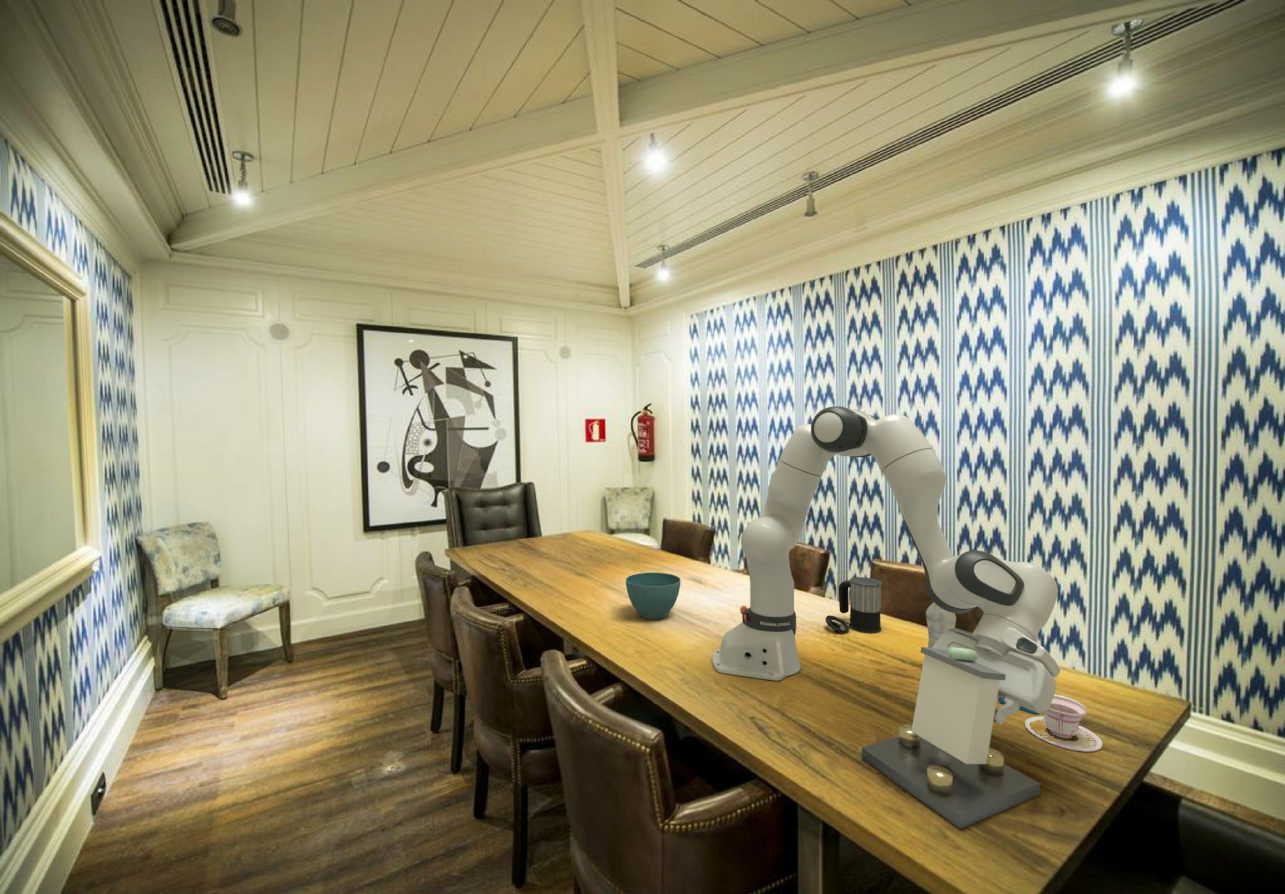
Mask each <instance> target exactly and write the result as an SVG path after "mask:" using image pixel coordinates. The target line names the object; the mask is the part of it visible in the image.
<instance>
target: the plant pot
mask: <svg viewBox="0 0 1285 894" xmlns="http://www.w3.org/2000/svg"><path fill="white" fill-rule="evenodd" d="M681 581H682V580H681V578H680V577H679V576H677V575H675V574H672V573H665V572H640V573H634V574H631V575H628V576H627V577H626V578H625V587H626V592H627V596H628V598H629V601H630V603H631V605H632V606H633V608H634V609H635V611H636V612H637V614H638V615H639V616H640V617H641V618H643V619H646V620H661V619H664V618H665V617H667V616H668V615H669V613H670V612H671V610H672V609H673V608H674V606H675V604H676V602H677V599H678V596H679V593H680V589H681Z"/></svg>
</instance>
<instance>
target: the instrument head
mask: <svg viewBox="0 0 1285 894" xmlns="http://www.w3.org/2000/svg"><path fill="white" fill-rule="evenodd" d="M920 653H921V654H923V655H924V657H923V662H922V668H921V673H920V678H919V685H918V691H917V697H916V702H915V706H914V708H915V709H914V714H913V719H912V724H911V725H912V730H911V732H913V733H915V734H917V735H918V736H920V737H922V738H923V739H925V740H927V741H928V742H930V743H932V744H933V745H935V746H937V747H939V748H940V750H939V751H938V757H939V759H940V760H941V761H942V762H943V763H945V764H950V763H952V762H953V760H954V757H956V758H957V759H959V760H961V761H962V762H964V763H966V764H986V763H987V757H988V751H989V748H990V744H991V738H992V732H993V724H994V721H993V720H994V713H995V708H997V707H996V706H997V701H998V699H997V698H998V696H997V695H998V689H999V682H1000V680H1005V677H1006V674H1003V673H1001V672H998V671H996V670H993V669H991V668H988V667H986V666H983V665H981V664H978V663H976V662H974V661H976V660H977V658H978V656H977V653H976V652H975V651H974V650H971V649H964V648H956V647H951V648H949V649H948V651H946V650H942V649H934V648H928V647H927V646H921V647H920Z"/></svg>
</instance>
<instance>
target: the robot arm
mask: <svg viewBox="0 0 1285 894" xmlns="http://www.w3.org/2000/svg"><path fill="white" fill-rule="evenodd" d="M837 455H838V456H841V457H851V458H867V457H871V456H872V458H874V460H875V461H876V463H877V465H878V467H879V468H880V470H881V473H882V474H883V476H884V478H885V480H886V481H887V483H888V486H889V488H890V490H891V491H892V494H893V496H894V498H895V502H896V504H897V506H898V509H899V511H900V515H901V517H902V520H903V522H904V525H905V527H906V530H907V532H908V534H909V537H910V539H911V541H912V543H913V546H914V548H915V550H916V553H917V555H918V556H919V560H920V562H921V564H922V567H923V570H924V578H925V579H924V580H925V586H926V587H925V588H926V591H927V594H928V596H929V598H930V599H931V601H932V600H933V601H934V603H935V604H936V605H938V606H939V607H940V608H942V609H944V610H946V611H948V612H951V613H955V614H965V613H969V612H971V611H972V610H974V609H976V608H977V607H978V608H979V609H981V610H982V611H983V612H982V613H983V614H982V617H981V618H980V620H979V622H978V623H977V625H976V627H975V629H974V631H973V632H970V631H967V630H963V629H961V628H958V627H955V628H954V629H948V630H945V631H944V633H943V634H942V636H941V637H940V638H939V640H938V641H937V642H936V643H935V644H934V646H933V647H932V648H934V649H942V650H946V651H948V649H949V648H951V647H956V648H964V649H971V650H974V651H975V652H976V653H977V656H978V658H977V660H976V661H974V662H976V663H978V664H981V665H983V666H986V667H988V668H991V669H993V670H996V671H998V672H1001V673H1003V674H1006V677H1005V680H1000V682H999V689H998V695H997V697H998V698H999V697H1001V698H1003V699H1004V701H1005V702H1006V704H1002V705H1001V706H999V707H998V708H997V707H995V713H994V720H993V723H994V722H995V723H996V724H999V725H1003V723H1004V722H1005V720H1006V717H1009V716H1011V715H1013V714H1015V713H1017V712H1019V708H1020V706H1022V707H1025V708H1027V709H1029V710H1032V711H1034V712H1036V713H1039V714H1042V713H1043V712H1045V711H1047V710H1048V709H1049V707H1050V705H1051V702H1052V700H1053V697H1054V694H1055V695H1056V691H1057V681H1056V679H1055V678H1057V677H1059V675H1060V673H1061V668H1060V666H1059V664H1058V663H1057V662H1056V660H1055V659H1054V657H1053V656H1052V655H1051V654H1050V653H1049V652H1048V651H1047V650H1046V649H1045V648H1044V647H1043V646H1042V645H1040V644H1039V643H1038V639H1039V638H1038V635H1039V633H1040V631H1041V630H1042V629H1043V628H1044V627H1045V626H1046V624H1047V623H1048V621H1049V620H1050V616H1051V614H1052V612H1053V611H1054V607H1055V605H1056V602H1057V599H1058V593H1059V590H1058V584H1057V582H1056V580H1055V578H1054V577H1053V576H1052V575H1051V574H1050V573H1049V572H1048V571H1047V570H1045V569H1044V568H1042V567H1040V566H1038V565H1037V564H1034V563H1032V562H1029V561H1028V562H1027V561H1012V560H1005V559H1003V558H999V557H997V556H995V555H993V554H991V553H989V552H986V551H983V550H978V549H977V550H976V549H974V550H968V551H965V552H963V553H961V554H959V555H957V556H955V555H954V554H953V552H952V550H951V547H950V545H949V542H948V541H947V539H946V537H945V534H944V533H943V531H942V530H943V529H942V528H941V525H940V523H939V517H938V510H939V503H940V500H941V497H942V495H943V492H944V490H945V486H946V482H947V477H946V474H945V470H944V467H943V465H942V462H941V460H940V458H939V456H938V455H937V453H936V451H935V450H934V448H933V447H932V445H931V443H930V442H929V441H928V440H927V438H926V437H925V435H924V434H923V433H922V431H921V430H920V429H919V428H918V426H917V425H916V424H915V423H914V422H913V421H912V420H911V419H910V418H909V417H907V416H906V415H905V414H901V413H894V414H887V415H885V416H882V417H881V418H879V419H878V418H876V417H875V416H873V415H872V414H868V413H865V412H864V411H862V410H858V409H854V408H847V407H844V406H841V405H840V406H837V405H836V406H835V405H834V406H828V407H825V408H822V410H820V411H818V412H817V413H816V414H815V415H814V417H813V419H812V421H811V423H806V424H801V425H798V426H797V428H795V430H794V431H793V433H792V434H791V436H790V437H789V439H788V441H787V442H786V444H785V446H784V448H783V450H782V453H781V455H780V456H779V459H778V461H777V464H776V467H775V469H774V470H773V471H774V472H773V474H772V477H771V479H770V482H769V484H768V488H767V496H766V500H765V501H766V502H765V506H764V509H763V512H762V514H761V516H759V517H758V518H755V519H753V520H752V521H751V522H749V523H748V524H747V526H746V527H745V528H744V529H743V532H742V533H741V538H740V546H741V549H742V551H743V553H744V554H745V558H746V559H745V560H746V564H747V569H748V575H749V585H750V586H749V587H750V588H749V590H750V591H749V593H750V594H749V600H750V603H749V604H750V605H749V606H750V607H747V606H746V605H741V607H740V608H739V612H740V614H741V618H742V619H741V620H742V622H740V623H739V624H737V625H735V627H732V628H731V629H730V630H728V631H727V632H725V634H724V635H723V636H722V637H723V638H722V640H721V645H720V647H719V648H716V649H715V650H714V651H713V653H712V655H711V656H712V658H711V664H712V667H713V668H714V669H715V670H716V671H717V672H718V673H720V674H726V675H727V674H728V675H732V676H742V677H746V678H747V677H749V678H756V679H761V680H767V681H768V680H770V681H781V680H783V679H784V678H785V677H788V676H792V675H795V674H797V673H798V672H799V671H800V670H801V669H802V667H801V662H800V659H799V655H798V649H797V642H796V633H797V632H796V631H797V614H796V611H795V581H794V578H793V576H792V571H791V567H790V566H791V564H790V551H791V550H792V549H794V548H795V547H796V545H797V544H798V542H799V540H800V536H801V534H802V531H803V529H804V525H805V524H806V523H805V522H806V518H807V515H808V511H809V508H810V505H811V503H812V500H813V498H814V495H815V493H816V491H817V489H818V486H819V484H820V481H821V479H822V476H823V474H824V472H825V469H826V467H827V464H828V462H829V461H830V460H831V459H832V458H833V457H834V456H837ZM933 601H932V602H933ZM1043 714H1044V713H1043Z"/></svg>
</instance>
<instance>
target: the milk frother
mask: <svg viewBox="0 0 1285 894" xmlns="http://www.w3.org/2000/svg"><path fill="white" fill-rule="evenodd" d="M882 585H883V582H882V581H881V580H878V579H875V578H873V577H867V576H866V577H863V576H856V577H851V578H849V579H848V580H844V581H841V582H840V583H839V586H838V604H839V607H838V608H839V612H840V613H841V614H847V613H848V612H849V622H847V621H845V620H843V619H841V618H839V617H838V616H835V615H827V616H826V617H825V623H826V624H827V626H828V627H829V628H831V629H832V630H833V631H834V632H835V633H846V634H847V633H849V631H850V629H852V630H854V629H855V630H854V631H857V632H860V631H861V633H866V632H869V633H868V634H874V633H875V632H877V633H880V632H881V631H882V627H881V624H882V623H881V604H882V600H881V595H882ZM849 588H850V599H849ZM849 600H850V603H849ZM849 604H850V606H849ZM849 608H850V609H849ZM843 627H844V628H843ZM875 634H876V633H875Z"/></svg>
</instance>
